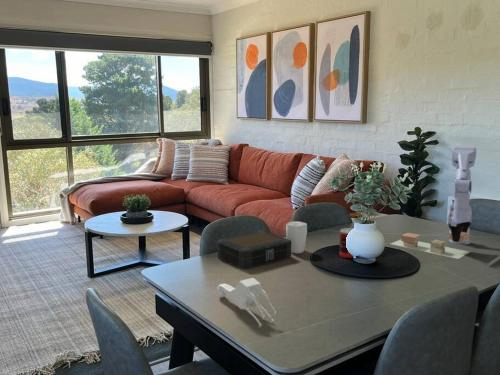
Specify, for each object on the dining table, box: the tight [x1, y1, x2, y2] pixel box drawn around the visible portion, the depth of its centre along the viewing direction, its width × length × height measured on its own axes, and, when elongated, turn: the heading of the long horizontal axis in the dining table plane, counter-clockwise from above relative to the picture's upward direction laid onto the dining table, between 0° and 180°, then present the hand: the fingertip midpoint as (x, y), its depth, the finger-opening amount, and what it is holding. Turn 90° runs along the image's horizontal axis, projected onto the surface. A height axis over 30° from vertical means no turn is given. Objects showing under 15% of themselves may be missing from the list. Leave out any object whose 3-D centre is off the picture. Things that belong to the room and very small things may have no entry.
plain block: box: [430, 239, 446, 255], centre depth 199 cm, size 4×4×4 cm
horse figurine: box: [216, 277, 277, 328], centre depth 144 cm, size 5×16×25 cm
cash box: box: [216, 230, 292, 270], centre depth 195 cm, size 25×20×8 cm
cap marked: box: [400, 232, 421, 244], centre depth 207 cm, size 6×6×3 cm
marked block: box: [403, 242, 418, 249], centre depth 207 cm, size 4×4×4 cm
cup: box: [285, 221, 308, 254], centre depth 203 cm, size 9×9×12 cm
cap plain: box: [448, 232, 470, 242], centre depth 199 cm, size 6×6×3 cm
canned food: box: [339, 227, 354, 259], centre depth 196 cm, size 8×8×11 cm
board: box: [390, 239, 471, 260], centre depth 205 cm, size 13×30×1 cm, turn 45°
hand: (458, 240), depth 199 cm, fingers closed on cap plain, 6 cm apart
